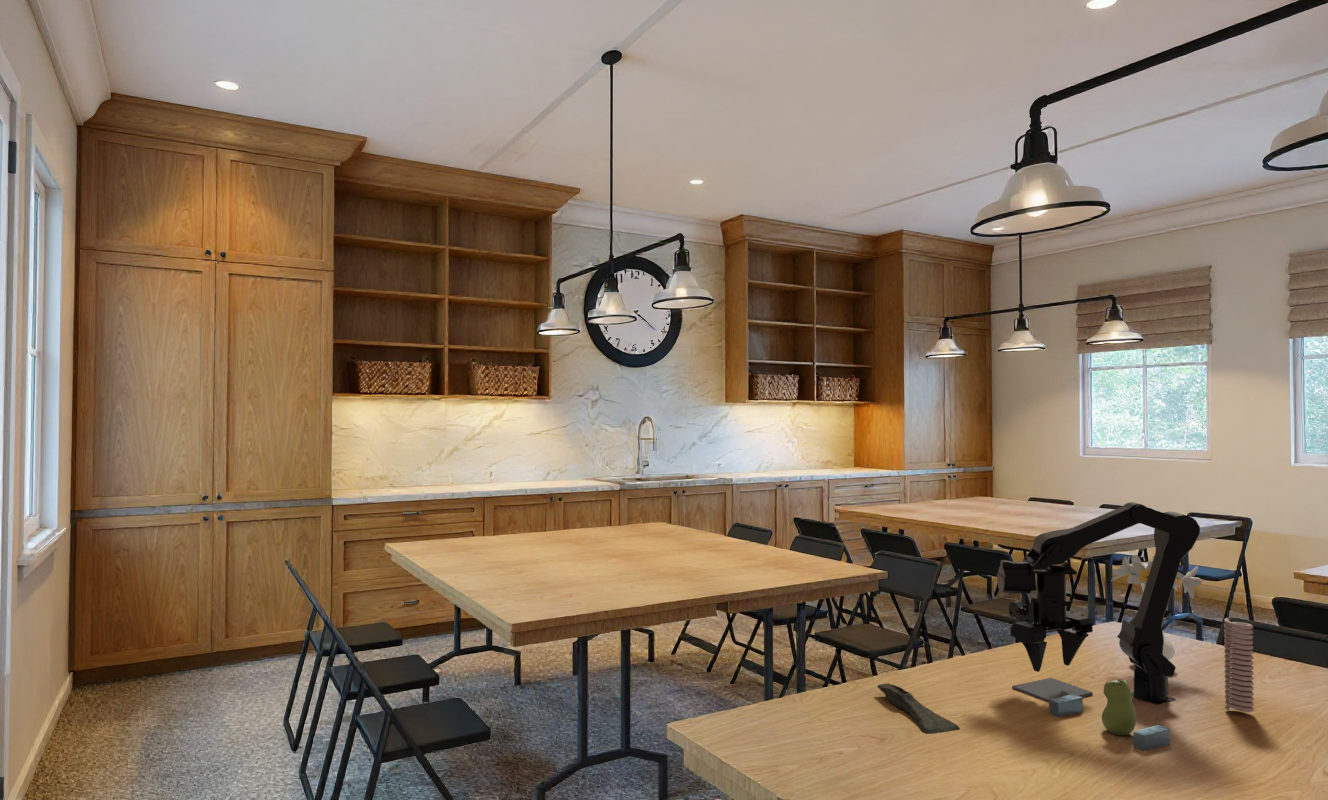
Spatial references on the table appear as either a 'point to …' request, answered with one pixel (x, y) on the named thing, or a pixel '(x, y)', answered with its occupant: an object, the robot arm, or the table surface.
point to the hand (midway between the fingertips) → (1051, 668)
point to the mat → (1050, 689)
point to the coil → (1238, 666)
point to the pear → (1118, 708)
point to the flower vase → (1140, 577)
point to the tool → (917, 710)
